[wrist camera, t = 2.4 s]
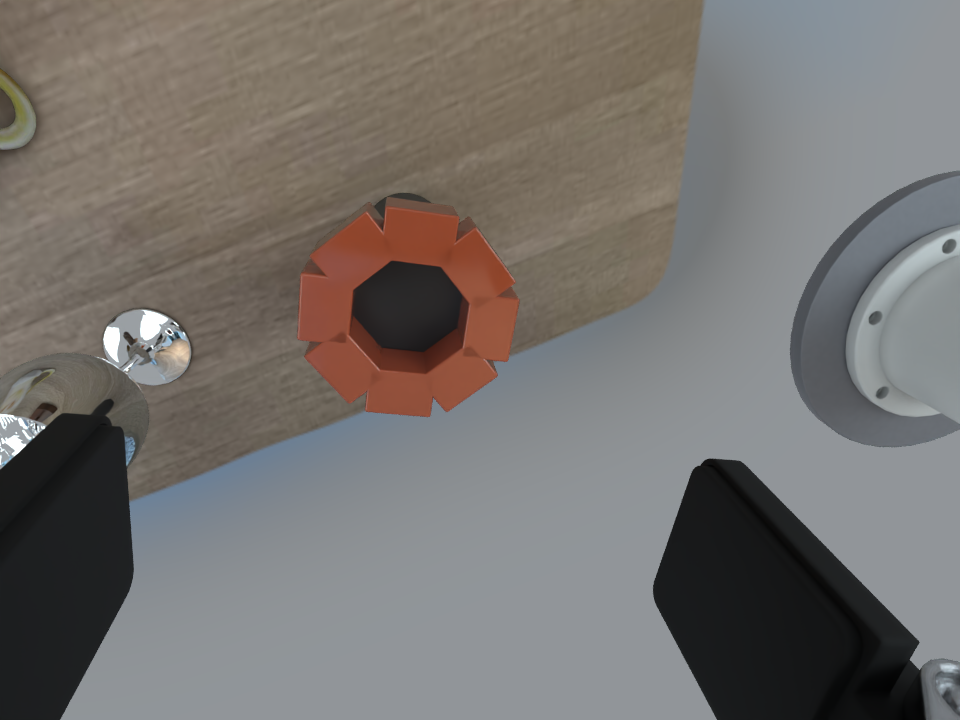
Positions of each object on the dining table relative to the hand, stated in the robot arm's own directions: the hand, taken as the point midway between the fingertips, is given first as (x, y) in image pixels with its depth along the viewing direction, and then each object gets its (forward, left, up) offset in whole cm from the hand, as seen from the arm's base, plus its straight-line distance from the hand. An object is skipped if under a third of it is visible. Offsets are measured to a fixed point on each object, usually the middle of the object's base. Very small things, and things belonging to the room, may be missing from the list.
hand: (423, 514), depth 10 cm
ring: (0, 0, -12) cm, 12 cm away
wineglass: (+13, +8, -24) cm, 28 cm away
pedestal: (0, 0, -24) cm, 24 cm away
